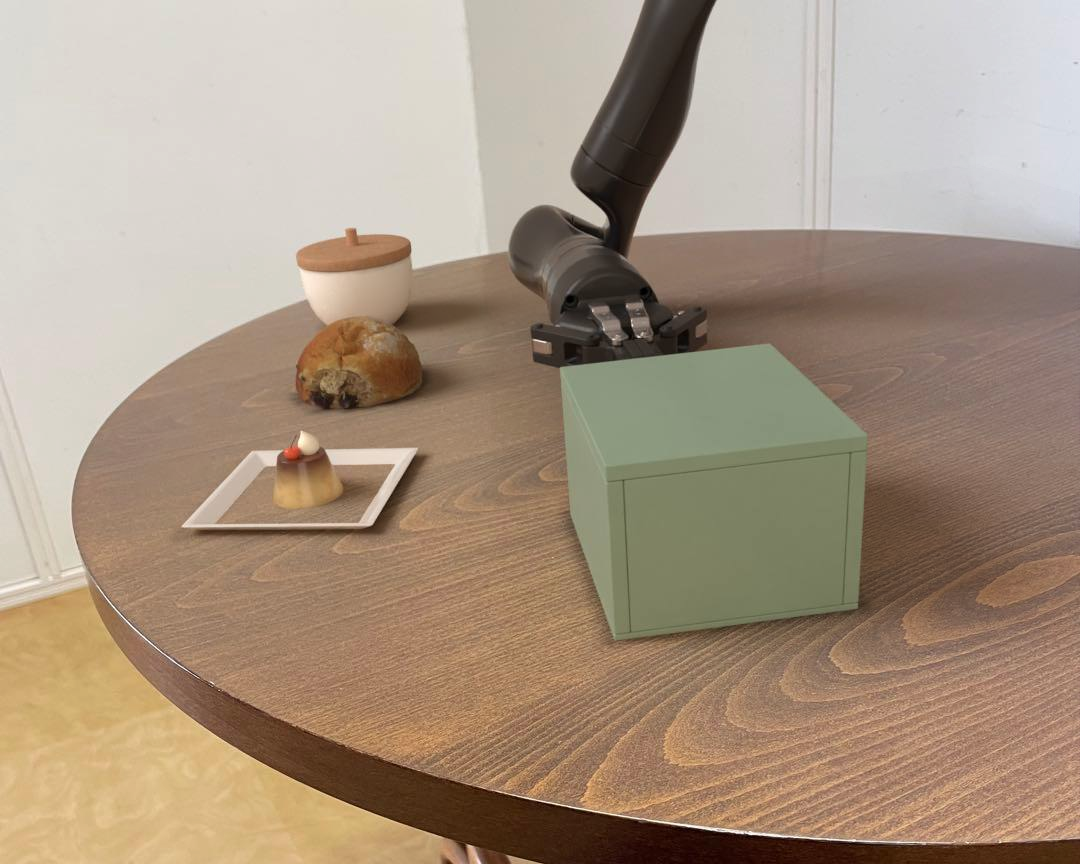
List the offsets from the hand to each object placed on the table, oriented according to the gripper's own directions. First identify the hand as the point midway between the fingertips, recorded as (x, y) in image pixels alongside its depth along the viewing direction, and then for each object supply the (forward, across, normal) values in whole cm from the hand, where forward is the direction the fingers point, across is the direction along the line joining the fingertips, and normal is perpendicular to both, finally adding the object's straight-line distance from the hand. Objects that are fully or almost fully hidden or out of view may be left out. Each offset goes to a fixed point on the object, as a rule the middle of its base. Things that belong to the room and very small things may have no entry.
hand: (646, 373), depth 70 cm
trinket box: (-42, -19, +7) cm, 46 cm away
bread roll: (-22, -19, +7) cm, 30 cm away
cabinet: (+13, 0, +6) cm, 15 cm away
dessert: (-2, -22, +7) cm, 23 cm away
